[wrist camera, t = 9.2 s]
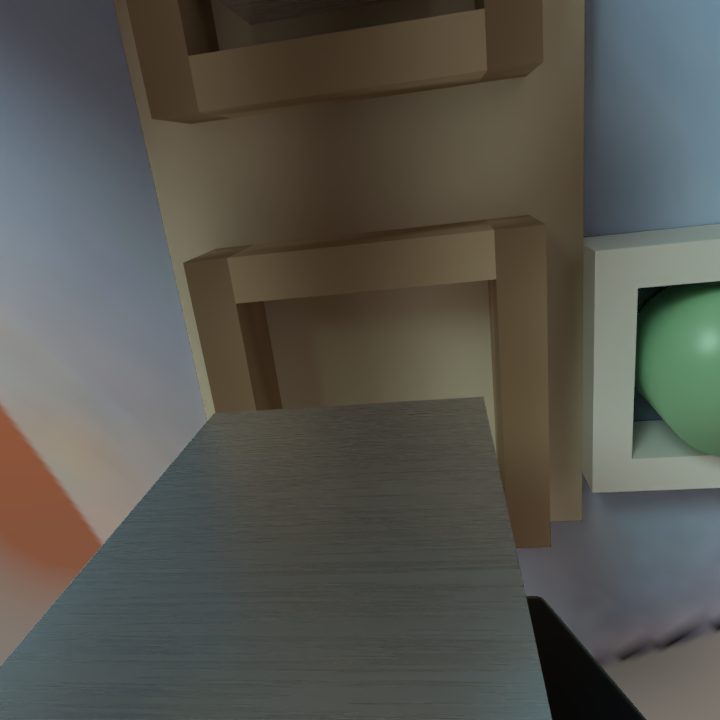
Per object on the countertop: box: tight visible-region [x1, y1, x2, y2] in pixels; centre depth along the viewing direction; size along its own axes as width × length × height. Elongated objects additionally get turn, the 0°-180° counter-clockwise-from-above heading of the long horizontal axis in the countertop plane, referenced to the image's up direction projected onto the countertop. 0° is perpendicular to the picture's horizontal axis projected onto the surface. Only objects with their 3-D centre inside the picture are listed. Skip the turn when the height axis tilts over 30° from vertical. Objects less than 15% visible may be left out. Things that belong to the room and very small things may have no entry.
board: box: [113, 0, 585, 548], centre depth 13 cm, size 10×19×3 cm, turn 7°
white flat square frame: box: [582, 224, 720, 493], centre depth 14 cm, size 6×6×2 cm
